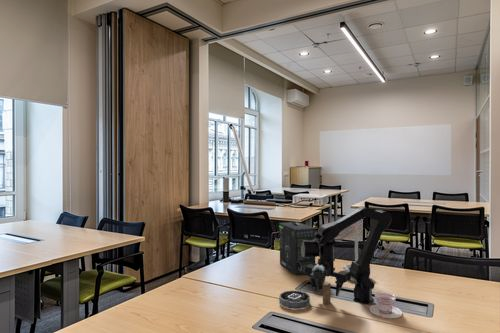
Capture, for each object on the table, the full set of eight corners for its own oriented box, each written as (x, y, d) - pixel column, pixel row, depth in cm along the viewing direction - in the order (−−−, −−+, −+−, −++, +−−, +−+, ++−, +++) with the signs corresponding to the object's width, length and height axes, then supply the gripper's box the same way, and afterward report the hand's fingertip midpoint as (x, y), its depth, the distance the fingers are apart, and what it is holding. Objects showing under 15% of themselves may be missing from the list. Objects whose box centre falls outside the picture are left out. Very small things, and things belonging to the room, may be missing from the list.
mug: (310, 292, 152) (310, 271, 152) (307, 283, 164) (307, 263, 164) (329, 292, 152) (329, 271, 152) (324, 283, 164) (324, 263, 163)
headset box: (279, 263, 196) (278, 219, 196) (297, 261, 200) (297, 217, 199) (295, 275, 174) (295, 225, 174) (316, 273, 178) (316, 224, 178)
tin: (315, 302, 141) (315, 295, 141) (299, 312, 131) (299, 304, 131) (290, 295, 149) (289, 288, 149) (273, 304, 139) (273, 297, 139)
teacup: (375, 303, 140) (375, 288, 140) (406, 311, 133) (406, 295, 133) (364, 313, 131) (364, 297, 131) (397, 322, 123) (397, 305, 123)
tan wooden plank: (330, 302, 141) (330, 283, 141) (327, 304, 139) (327, 285, 139) (326, 300, 143) (326, 282, 142) (322, 303, 140) (322, 284, 140)
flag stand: (374, 282, 164) (373, 220, 164) (347, 282, 164) (346, 220, 164) (365, 273, 177) (365, 216, 177) (340, 273, 177) (340, 216, 177)
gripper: (297, 256, 140) (297, 294, 140) (339, 264, 128) (339, 305, 129) (310, 251, 149) (310, 286, 149) (351, 258, 137) (351, 296, 137)
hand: (326, 293), depth 141 cm, fingers open, 9 cm apart
